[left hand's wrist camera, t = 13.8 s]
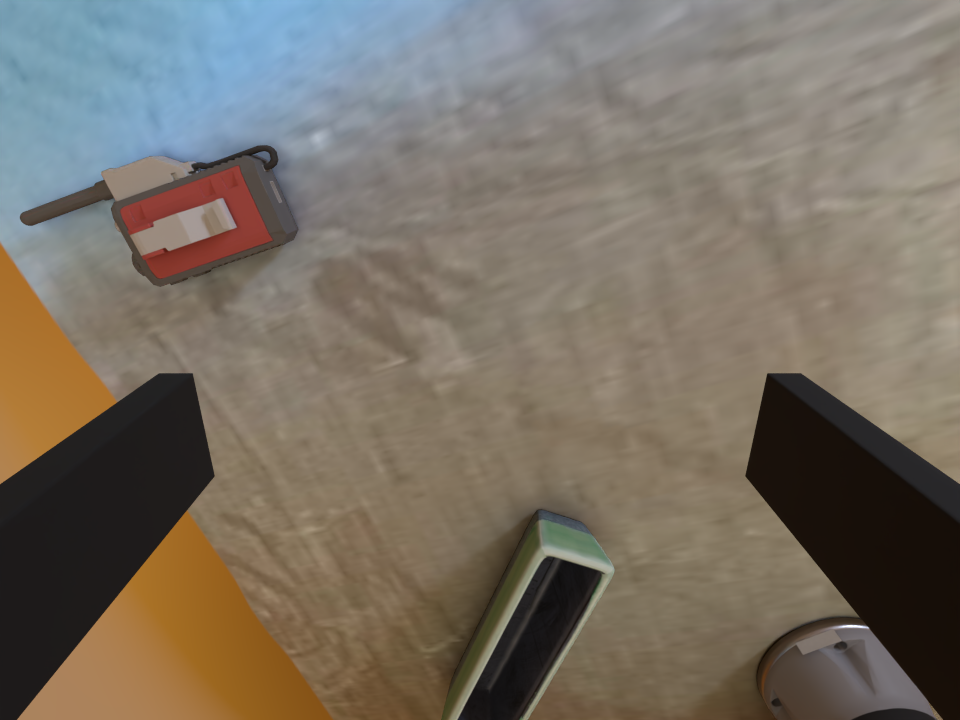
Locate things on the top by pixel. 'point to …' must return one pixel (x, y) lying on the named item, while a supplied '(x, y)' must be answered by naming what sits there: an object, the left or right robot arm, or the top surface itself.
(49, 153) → the top surface
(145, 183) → the walkie-talkie
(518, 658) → the planter
